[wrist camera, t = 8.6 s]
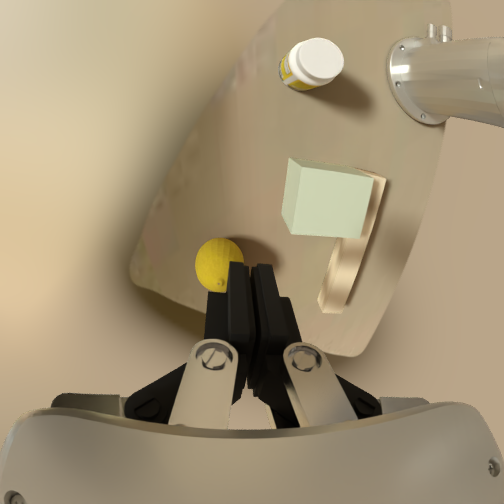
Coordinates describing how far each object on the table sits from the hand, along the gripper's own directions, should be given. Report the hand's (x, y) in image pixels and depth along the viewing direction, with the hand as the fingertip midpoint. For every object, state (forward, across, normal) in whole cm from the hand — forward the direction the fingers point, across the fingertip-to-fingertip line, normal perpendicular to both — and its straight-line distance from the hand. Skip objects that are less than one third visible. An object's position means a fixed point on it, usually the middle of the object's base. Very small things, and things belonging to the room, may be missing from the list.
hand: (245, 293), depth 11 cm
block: (+22, -10, 0) cm, 24 cm away
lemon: (+22, +1, +10) cm, 24 cm away
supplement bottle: (+22, -5, -13) cm, 26 cm away
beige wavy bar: (+22, -16, +7) cm, 28 cm away
